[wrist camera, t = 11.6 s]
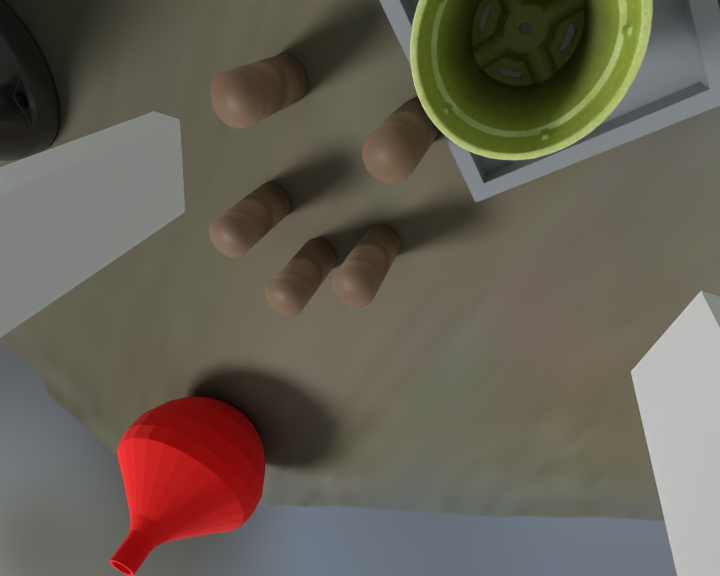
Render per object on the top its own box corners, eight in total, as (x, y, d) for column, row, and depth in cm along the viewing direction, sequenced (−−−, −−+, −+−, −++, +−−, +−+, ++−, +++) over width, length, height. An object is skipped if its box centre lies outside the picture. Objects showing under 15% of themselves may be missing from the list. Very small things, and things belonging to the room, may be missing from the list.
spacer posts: (199, 115, 36) (137, 141, 31) (375, -21, 27) (331, -20, 21) (313, 286, 42) (278, 332, 37) (489, 221, 33) (477, 270, 27)
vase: (236, 477, 69) (150, 616, 54) (146, 397, 64) (25, 524, 49) (312, 453, 58) (231, 618, 43) (210, 354, 53) (80, 501, 39)
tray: (385, -15, 27) (372, -14, 25) (653, -218, 19) (665, -240, 18) (480, 188, 32) (475, 202, 30) (723, 88, 24) (738, 97, 22)
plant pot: (660, -64, 22) (712, -81, 15) (576, 131, 27) (585, 183, 21) (469, -93, 23) (438, -120, 17) (428, 96, 29) (392, 134, 22)
